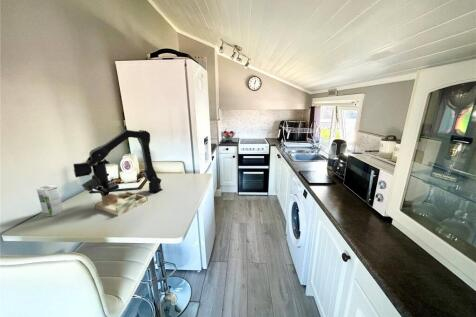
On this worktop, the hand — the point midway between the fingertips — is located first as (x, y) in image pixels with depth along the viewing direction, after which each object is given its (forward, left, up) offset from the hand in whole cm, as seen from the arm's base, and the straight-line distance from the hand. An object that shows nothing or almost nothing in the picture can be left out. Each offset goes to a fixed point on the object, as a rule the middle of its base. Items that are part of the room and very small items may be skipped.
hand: (105, 199), depth 105 cm
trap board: (-5, +7, -4) cm, 9 cm away
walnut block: (0, +4, -1) cm, 4 cm away
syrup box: (+16, -16, -4) cm, 24 cm away
